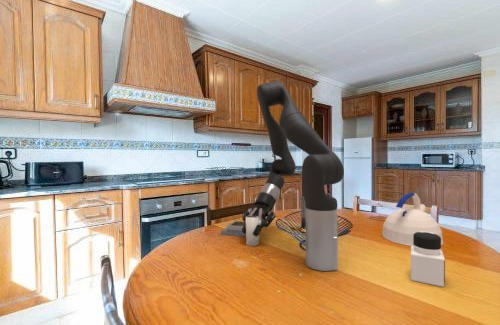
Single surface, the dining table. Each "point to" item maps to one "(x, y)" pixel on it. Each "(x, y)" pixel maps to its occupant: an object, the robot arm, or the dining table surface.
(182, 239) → the dining table surface
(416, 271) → the medicine bottle
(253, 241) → the pale grey canister
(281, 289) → the dining table surface
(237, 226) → the hub plate
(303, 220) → the milk frother
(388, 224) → the kettle
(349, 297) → the dining table surface
